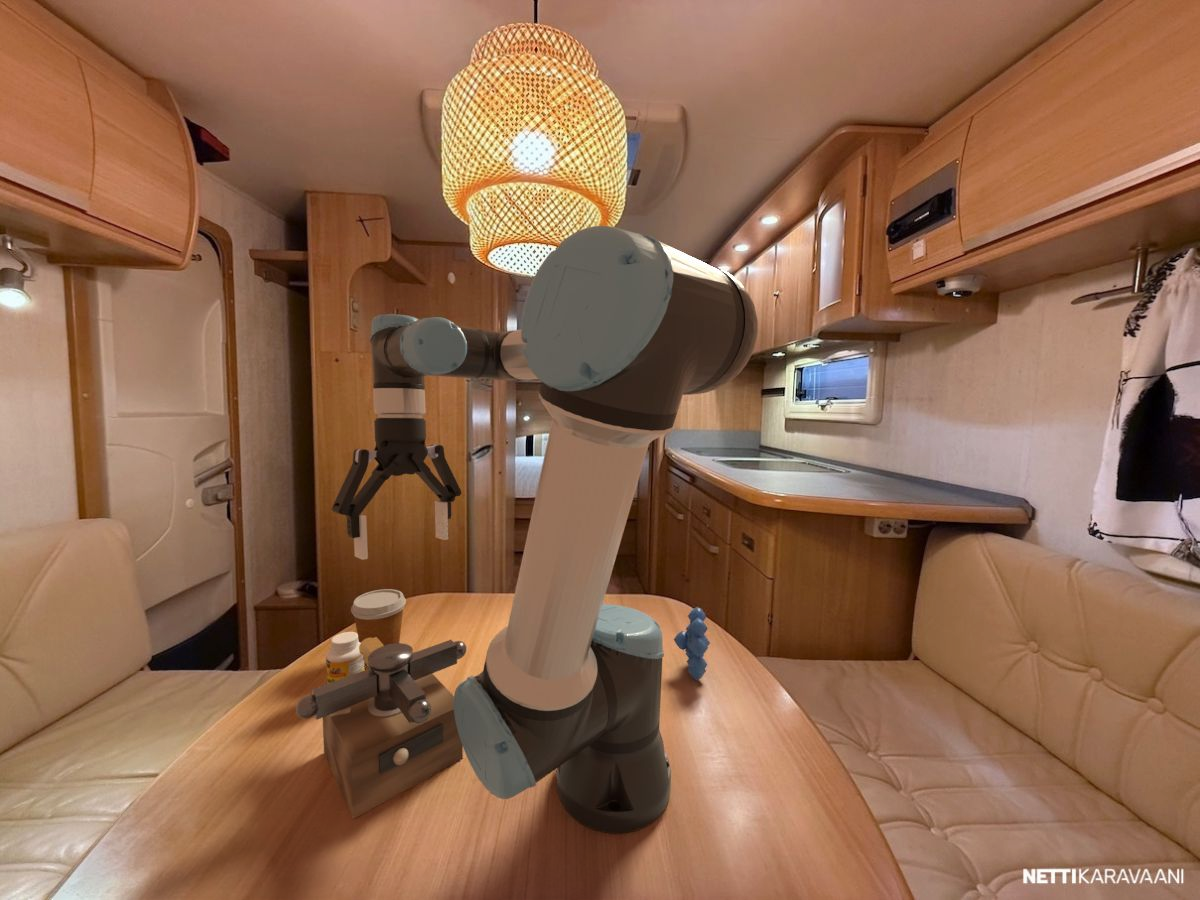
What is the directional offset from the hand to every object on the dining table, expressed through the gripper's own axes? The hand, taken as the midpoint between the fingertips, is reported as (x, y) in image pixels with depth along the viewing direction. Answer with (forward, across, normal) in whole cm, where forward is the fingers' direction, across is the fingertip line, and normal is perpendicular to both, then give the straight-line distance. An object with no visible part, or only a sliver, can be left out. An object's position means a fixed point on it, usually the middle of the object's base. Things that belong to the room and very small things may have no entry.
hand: (404, 547), depth 73 cm
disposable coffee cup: (+26, -3, -16) cm, 31 cm away
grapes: (+27, -39, +32) cm, 57 cm away
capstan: (+18, +8, +10) cm, 22 cm away
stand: (+26, +8, +10) cm, 29 cm away
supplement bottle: (+26, +6, -10) cm, 28 cm away
